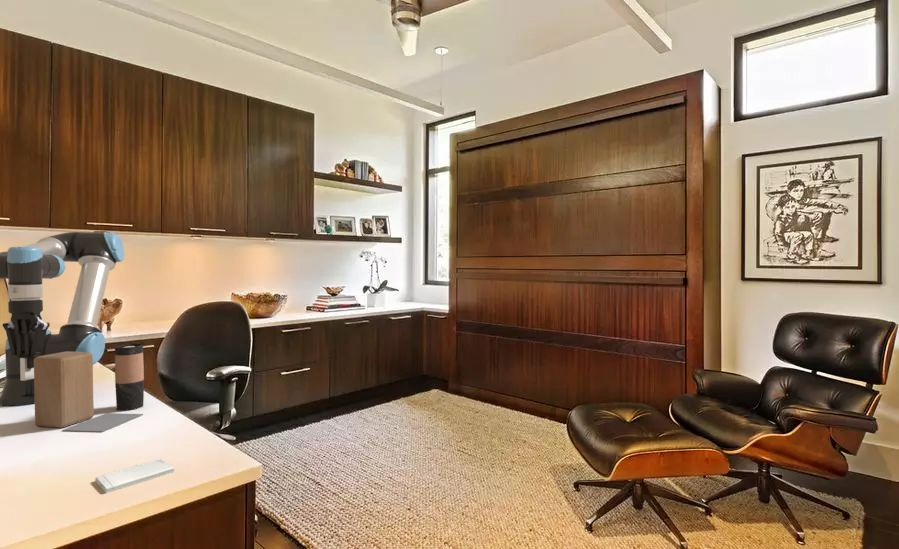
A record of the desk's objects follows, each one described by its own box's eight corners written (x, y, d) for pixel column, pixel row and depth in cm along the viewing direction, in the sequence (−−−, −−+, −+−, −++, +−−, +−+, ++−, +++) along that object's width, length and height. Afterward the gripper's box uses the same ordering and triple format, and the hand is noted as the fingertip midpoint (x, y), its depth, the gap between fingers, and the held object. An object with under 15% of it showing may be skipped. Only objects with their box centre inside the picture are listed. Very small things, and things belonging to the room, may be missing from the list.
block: (61, 429, 131) (60, 358, 131) (33, 427, 133) (31, 356, 133) (95, 417, 141) (94, 351, 140) (68, 416, 143) (67, 350, 142)
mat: (62, 431, 129) (62, 430, 129) (106, 414, 144) (106, 413, 144) (102, 432, 128) (102, 431, 128) (143, 415, 143) (143, 414, 143)
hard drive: (161, 457, 108) (95, 476, 99) (174, 467, 103) (106, 487, 93) (161, 464, 108) (95, 483, 99) (174, 475, 103) (106, 496, 93)
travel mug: (150, 405, 153) (148, 344, 153) (127, 412, 146) (126, 348, 146) (133, 403, 156) (132, 343, 156) (109, 409, 149) (108, 347, 148)
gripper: (-8, 300, 134) (-7, 382, 135) (33, 300, 133) (35, 382, 133) (18, 298, 142) (20, 376, 142) (57, 298, 140) (59, 376, 141)
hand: (27, 379), depth 138 cm, fingers closed
